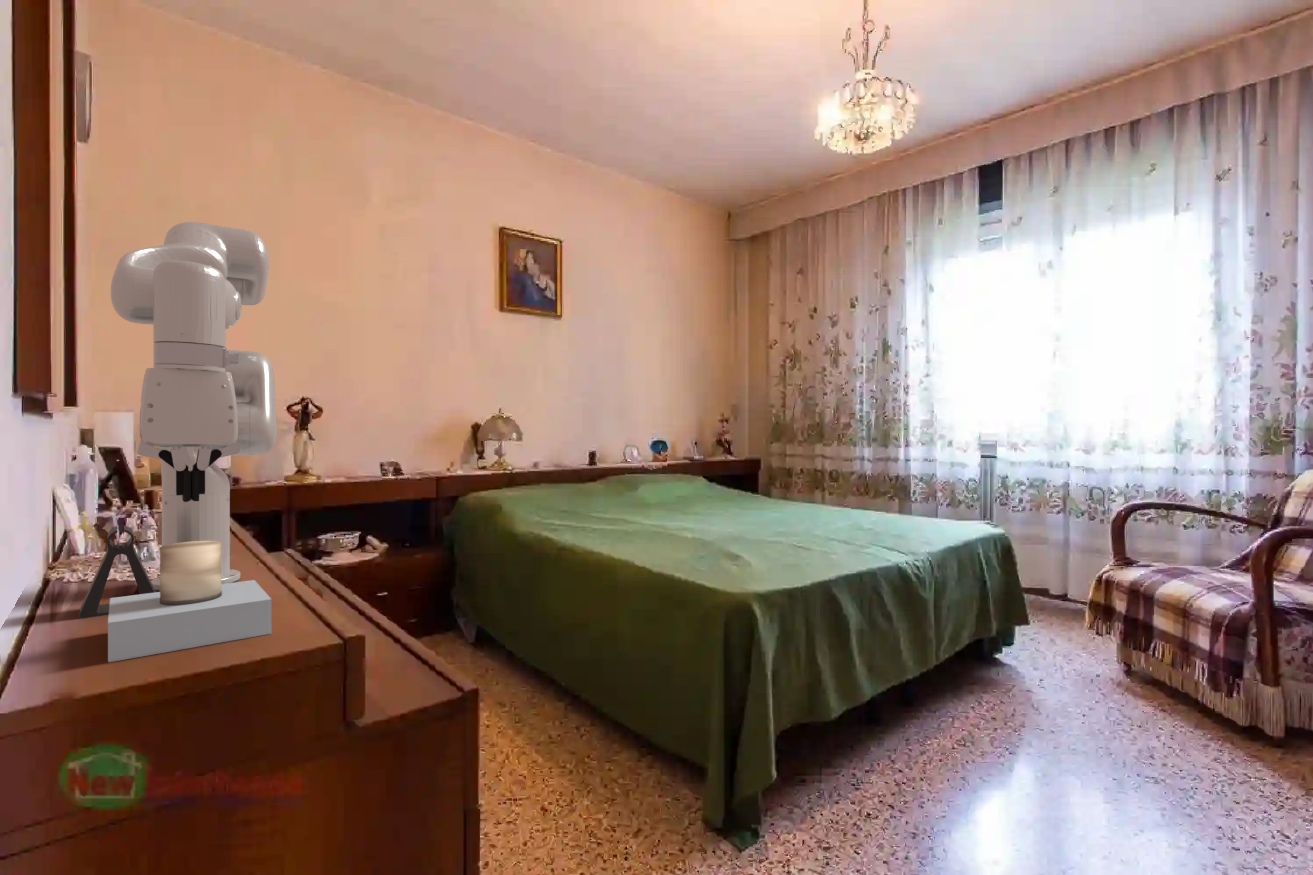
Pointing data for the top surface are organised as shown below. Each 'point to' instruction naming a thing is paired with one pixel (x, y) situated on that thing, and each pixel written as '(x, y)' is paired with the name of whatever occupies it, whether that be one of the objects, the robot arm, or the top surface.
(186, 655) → the top surface
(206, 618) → the gray rectangular block
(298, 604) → the top surface
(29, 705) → the top surface
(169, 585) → the beech peg
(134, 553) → the dark grey a-shaped piece
